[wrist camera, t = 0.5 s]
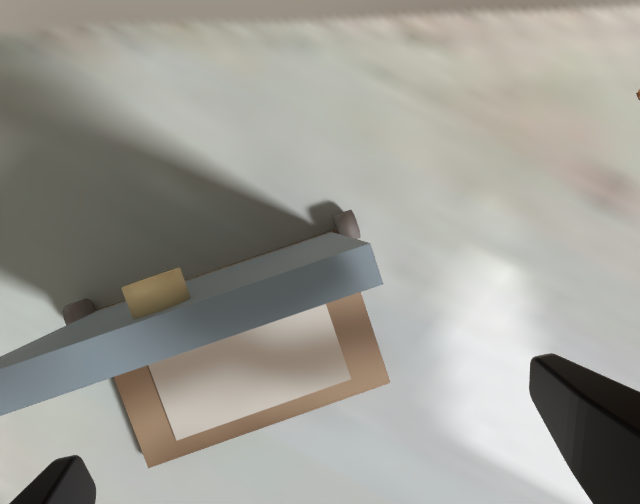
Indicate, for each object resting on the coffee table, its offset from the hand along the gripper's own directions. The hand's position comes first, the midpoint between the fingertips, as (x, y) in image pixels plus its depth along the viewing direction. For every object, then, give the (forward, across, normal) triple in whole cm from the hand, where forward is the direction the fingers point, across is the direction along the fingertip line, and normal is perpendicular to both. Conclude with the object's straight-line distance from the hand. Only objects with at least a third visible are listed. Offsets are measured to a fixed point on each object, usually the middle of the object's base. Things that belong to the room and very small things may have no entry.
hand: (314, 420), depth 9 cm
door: (+16, +4, +4) cm, 17 cm away
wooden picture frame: (+15, +4, +8) cm, 18 cm away
